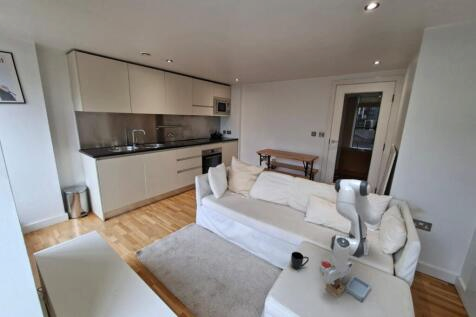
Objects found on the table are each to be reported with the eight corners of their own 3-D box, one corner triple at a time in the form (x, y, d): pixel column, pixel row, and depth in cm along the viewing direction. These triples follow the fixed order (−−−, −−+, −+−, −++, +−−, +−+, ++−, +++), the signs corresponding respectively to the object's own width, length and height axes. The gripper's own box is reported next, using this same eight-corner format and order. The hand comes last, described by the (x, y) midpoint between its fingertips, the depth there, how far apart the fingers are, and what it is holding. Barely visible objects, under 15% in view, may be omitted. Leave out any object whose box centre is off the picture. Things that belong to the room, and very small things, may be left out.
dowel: (333, 287, 126) (335, 274, 123) (337, 290, 123) (340, 277, 121) (331, 289, 124) (333, 276, 121) (335, 293, 122) (338, 280, 119)
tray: (353, 278, 132) (354, 275, 131) (370, 289, 125) (371, 285, 124) (344, 290, 124) (345, 286, 123) (361, 302, 116) (362, 298, 115)
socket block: (331, 282, 129) (332, 277, 128) (343, 291, 123) (344, 286, 122) (325, 289, 124) (326, 283, 123) (337, 298, 118) (338, 293, 117)
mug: (308, 272, 136) (310, 261, 134) (290, 270, 138) (292, 258, 136) (306, 263, 144) (307, 253, 142) (289, 261, 146) (291, 250, 144)
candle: (328, 279, 132) (329, 271, 130) (316, 270, 139) (317, 262, 137) (335, 273, 136) (337, 265, 135) (324, 264, 144) (325, 257, 142)
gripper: (331, 273, 112) (328, 292, 115) (355, 262, 120) (351, 280, 123) (322, 265, 117) (319, 283, 121) (345, 255, 126) (342, 273, 129)
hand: (335, 282), depth 122 cm, fingers open, 4 cm apart
